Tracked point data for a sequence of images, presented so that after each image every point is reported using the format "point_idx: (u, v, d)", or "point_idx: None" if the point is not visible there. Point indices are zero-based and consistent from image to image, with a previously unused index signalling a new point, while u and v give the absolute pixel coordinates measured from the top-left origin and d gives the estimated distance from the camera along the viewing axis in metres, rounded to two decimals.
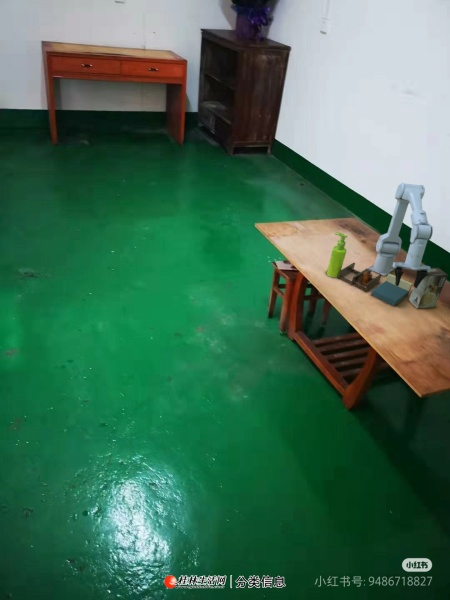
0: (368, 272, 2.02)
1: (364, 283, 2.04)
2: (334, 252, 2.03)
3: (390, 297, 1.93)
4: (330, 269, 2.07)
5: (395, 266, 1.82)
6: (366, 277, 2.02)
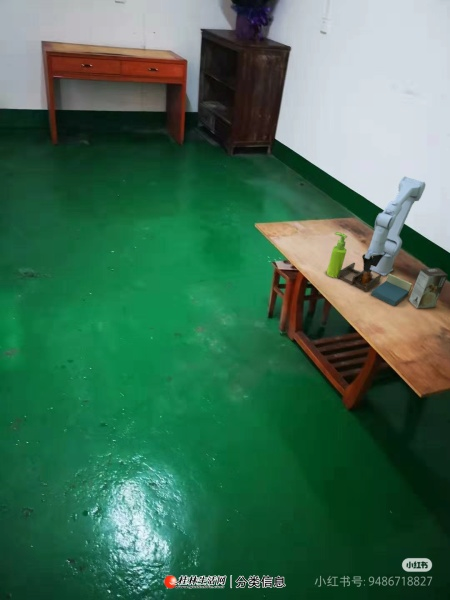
0: (368, 272, 2.02)
1: (364, 283, 2.04)
2: (334, 252, 2.03)
3: (390, 297, 1.93)
4: (330, 269, 2.07)
5: (369, 257, 1.93)
6: (366, 277, 2.02)
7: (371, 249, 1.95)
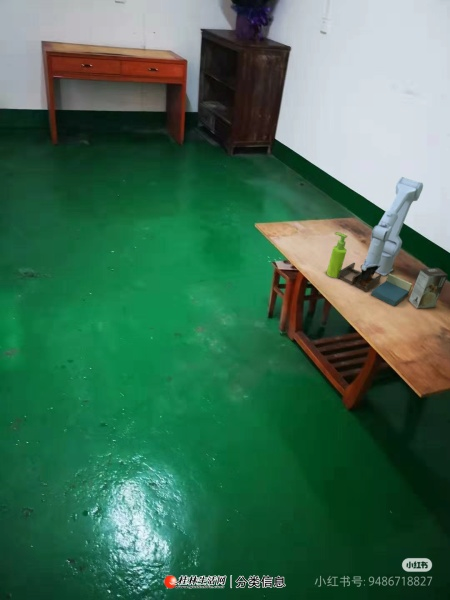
0: None
1: (364, 283, 2.04)
2: (334, 252, 2.03)
3: (390, 297, 1.93)
4: (330, 269, 2.07)
5: (366, 268, 1.96)
6: None
7: (367, 260, 1.98)
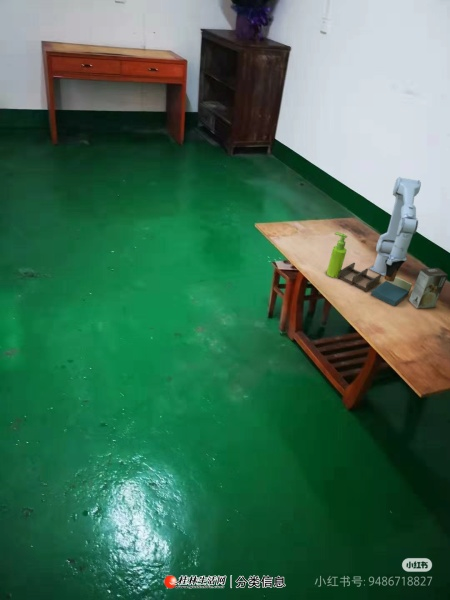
0: None
1: (388, 278, 1.95)
2: (334, 252, 2.03)
3: (390, 297, 1.93)
4: (330, 269, 2.07)
5: (391, 263, 1.87)
6: None
7: (393, 255, 1.89)
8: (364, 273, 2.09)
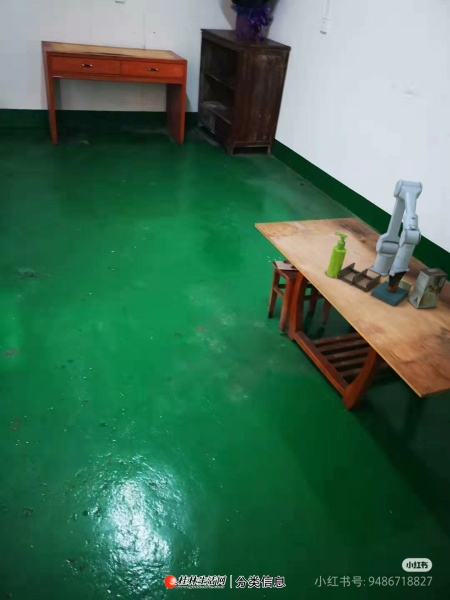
0: None
1: (391, 289, 1.96)
2: (334, 252, 2.03)
3: (390, 297, 1.93)
4: (330, 269, 2.07)
5: (394, 274, 1.88)
6: None
7: (395, 265, 1.90)
8: (364, 273, 2.09)
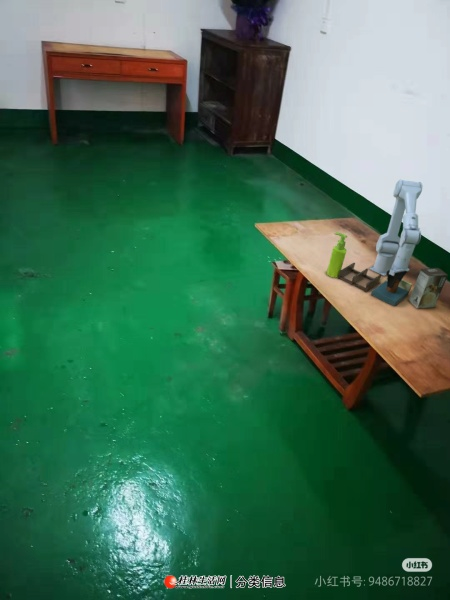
0: None
1: (391, 290, 1.96)
2: (334, 252, 2.03)
3: (390, 297, 1.93)
4: (330, 269, 2.07)
5: (394, 274, 1.88)
6: None
7: (395, 265, 1.90)
8: (364, 273, 2.09)
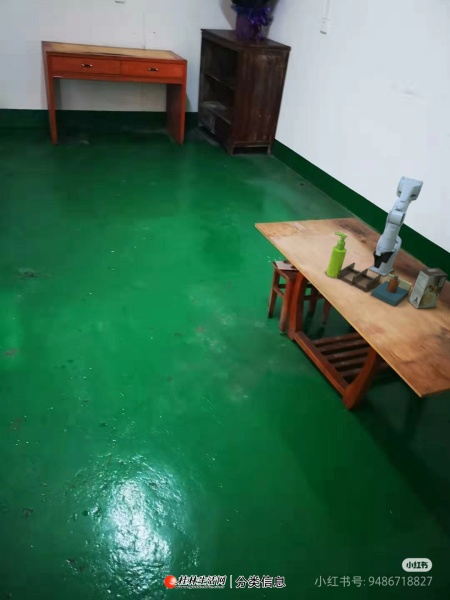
0: (395, 278, 1.94)
1: (391, 290, 1.96)
2: (334, 252, 2.03)
3: (390, 297, 1.93)
4: (330, 269, 2.07)
5: (380, 254, 1.93)
6: (393, 283, 1.95)
7: (382, 246, 1.96)
8: (364, 273, 2.09)
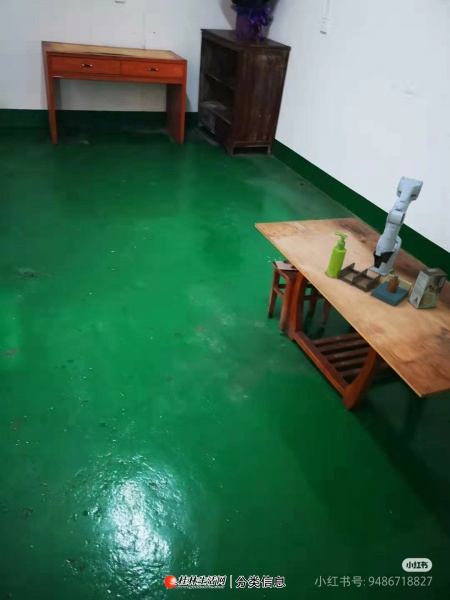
0: (395, 278, 1.94)
1: (391, 290, 1.96)
2: (334, 252, 2.03)
3: (390, 297, 1.93)
4: (330, 269, 2.07)
5: (380, 254, 1.93)
6: (393, 283, 1.95)
7: (382, 246, 1.96)
8: (364, 273, 2.09)
